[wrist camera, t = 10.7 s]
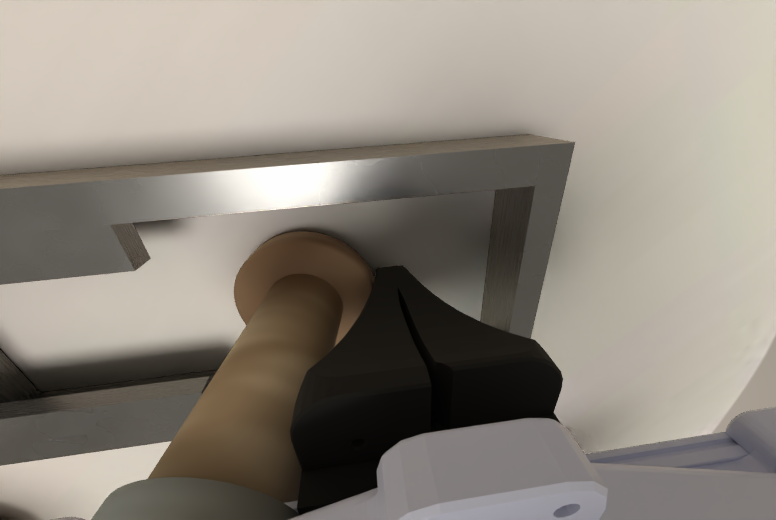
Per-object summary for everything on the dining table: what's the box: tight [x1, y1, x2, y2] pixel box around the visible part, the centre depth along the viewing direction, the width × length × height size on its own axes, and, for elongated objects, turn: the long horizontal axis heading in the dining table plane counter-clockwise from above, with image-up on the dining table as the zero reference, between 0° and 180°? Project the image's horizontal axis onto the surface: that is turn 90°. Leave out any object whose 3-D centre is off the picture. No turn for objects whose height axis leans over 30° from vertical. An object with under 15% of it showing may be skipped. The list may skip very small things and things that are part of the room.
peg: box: [91, 231, 375, 520], centre depth 9 cm, size 6×6×9 cm
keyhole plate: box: [0, 134, 575, 466], centre depth 12 cm, size 24×11×3 cm, turn 93°
